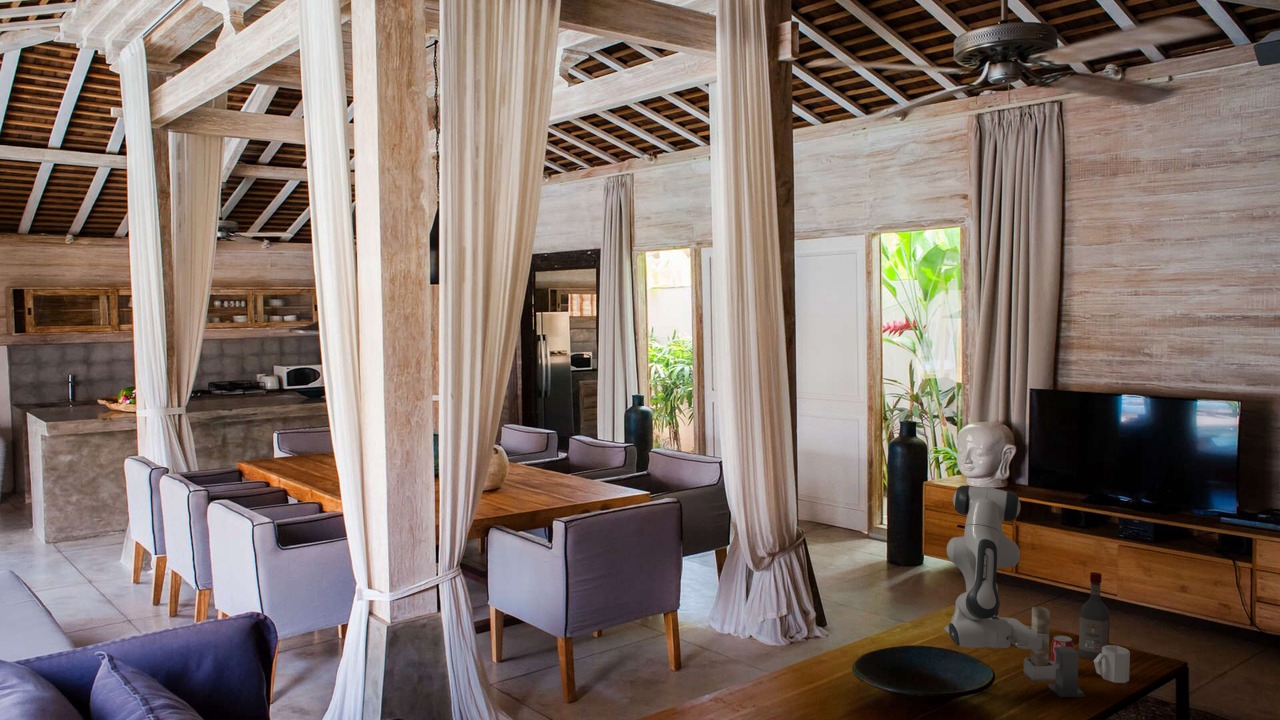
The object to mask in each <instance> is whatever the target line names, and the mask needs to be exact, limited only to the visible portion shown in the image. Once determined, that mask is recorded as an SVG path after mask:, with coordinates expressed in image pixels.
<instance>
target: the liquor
mask: <svg viewBox="0 0 1280 720" xmlns="http://www.w3.org/2000/svg"><path fill="white" fill-rule="evenodd" d="M1089 576H1090V577H1089V582H1090V595H1089V599H1088V600H1087V601H1086V602H1085V603H1084V604H1082V606H1081V608H1080V611H1079V629H1078V630H1079V633H1078V634H1079V636H1078V638H1079V639H1078V652H1079V656H1080V657H1082V658H1084V659H1087V660H1088V659H1089V660H1091V661H1092V660H1093V661H1094V660H1095V658H1096V657H1097V656H1098V655H1099V654H1100V653H1102V647H1104V646H1107V645H1110V619H1111V618H1110V615H1111V614H1110V613H1111V612H1110V610H1109V608H1108V607H1107V605H1106V604H1105V602H1103V600H1102V598H1101V583H1102V576H1103V575H1102V573H1100V572H1097V571H1096V572H1095V571H1093V572H1090V574H1089Z"/></svg>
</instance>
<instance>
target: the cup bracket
mask: <svg viewBox="0 0 1280 720" xmlns="http://www.w3.org/2000/svg"><path fill="white" fill-rule="evenodd" d="M1079 656H1080V654H1079V651H1077V650H1076V649H1075V648H1074V649H1073V648H1072V647H1056V661H1051V660H1049V664H1048V665H1047V666H1036V665H1034V664H1033V663H1032V662H1031V657H1024V658H1023V674H1024V675H1025V676H1026V677H1027V678H1028V679H1030V680H1031V681H1032V682H1036V683H1037V682H1039V683H1040V682H1054V683H1048V688H1049V689H1050V690H1051V691H1052V692H1053V693H1055V694H1056V695H1057V696H1058V697H1060V698H1085V692H1084V691H1083V690H1081V689H1080V688H1079Z"/></svg>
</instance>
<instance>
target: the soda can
mask: <svg viewBox="0 0 1280 720" xmlns="http://www.w3.org/2000/svg"><path fill="white" fill-rule="evenodd" d="M1050 647H1051V648H1050V649H1051V651H1050V661H1056V647H1072V648H1073V649H1075V645H1074V642H1073V639H1072V638H1071V637H1069V636H1066V635H1060V634H1059V635H1054V636H1053V639H1052V641H1051V645H1050Z"/></svg>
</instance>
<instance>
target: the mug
mask: <svg viewBox="0 0 1280 720" xmlns="http://www.w3.org/2000/svg"><path fill="white" fill-rule="evenodd" d="M1130 658H1131V651H1130V650H1129V649H1127V648H1126V647H1122V646H1119V645H1110V644H1109V645H1107V646H1104V647H1102V653H1100V654H1099V655H1098V656H1097V657H1096V658H1095V660H1093V664H1094V667H1095V672H1096V674H1098V675H1100V677H1102V678H1103V680H1106V681H1109V682H1112V683H1117V684H1119V683H1120V684H1121V683H1122V684H1126V683H1127V682H1129V681H1130V664H1131V663H1130V662H1131V661H1130Z"/></svg>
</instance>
